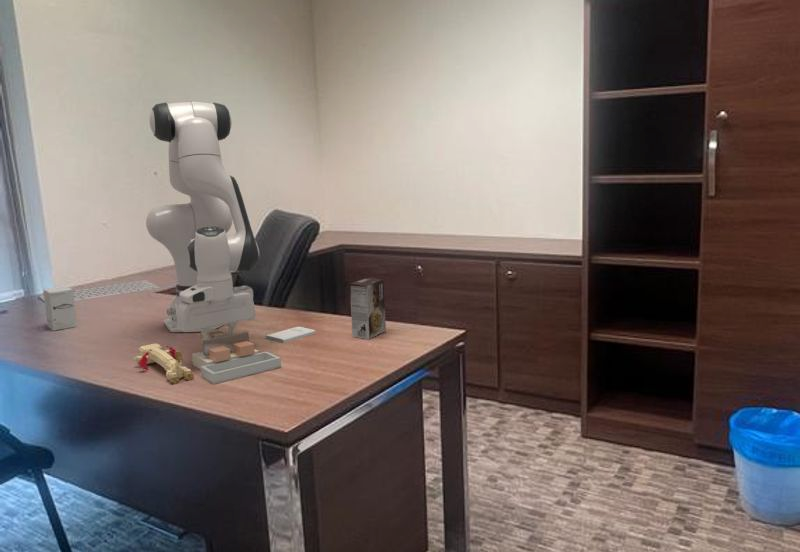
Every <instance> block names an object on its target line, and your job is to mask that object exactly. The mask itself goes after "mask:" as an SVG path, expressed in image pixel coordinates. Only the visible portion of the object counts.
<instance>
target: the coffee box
mask: <svg viewBox="0 0 800 552" xmlns="http://www.w3.org/2000/svg"><path fill="white" fill-rule="evenodd" d="M384 283H385V282H384V279H383V278H382V279H380V278H379V279H378V278H375V277H365V278H362V279H359V280H357V281H353V282H351V283H349V293H350V296H349V297H350V312H351V313H350V315H351V332H352V333H351V334H352V338H355V337H358V338H357V339H362V338H365V339H364V340H372V339H373V337H374V338H376V337H377V335H378V334H380V333H382V332H384V333H386V332H385V331H387V329H386V328H387V327H386V325H387V324H386V305H385V304H386V303H385V286H384V285H385V284H384ZM382 334H383V333H382ZM380 335H381V334H380ZM375 336H376V337H375ZM378 336H379V335H378ZM371 338H372V339H371Z"/></svg>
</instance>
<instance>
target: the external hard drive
mask: <svg viewBox="0 0 800 552" xmlns="http://www.w3.org/2000/svg"><path fill="white" fill-rule="evenodd" d="M315 334H316V330H315V329H312V328H308V327H307V328H306V327H303V326H294V327H292V328H288V329H284V330H281V331H276V332H274V333H271V334H266V335H265V340H269V341H273V342H276V343H281V344H285V343H289V342H292V341H296V340H299V339H302V338H305V337H308V336H311V335H315Z"/></svg>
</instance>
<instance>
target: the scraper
mask: <svg viewBox="0 0 800 552" xmlns="http://www.w3.org/2000/svg"><path fill="white" fill-rule="evenodd" d="M199 333H200V341H201V346H202V350H203V351H204V356H209V349H212V348H216V347H221V346H225V347H227V348H229V349H230V351H233V344H235V343H239V342H244V341H249V342H250V336H249V335H250V334H249V331H247V330H245V331H240V332H235V333H234V332H233V333H232V334H229V333H227V332H225V331H222V330H218V329H216V328H215V329H210V332H208V333H209V335H210V336H213V337H214V338H210V339H207V337H206V336H205V335H204V334H203V332H202V331H199ZM203 351H202V352H203Z"/></svg>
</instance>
